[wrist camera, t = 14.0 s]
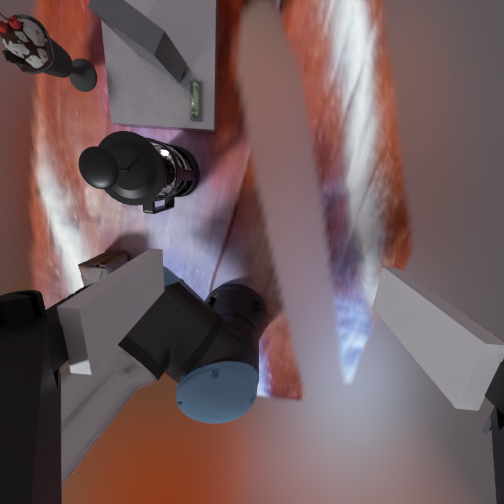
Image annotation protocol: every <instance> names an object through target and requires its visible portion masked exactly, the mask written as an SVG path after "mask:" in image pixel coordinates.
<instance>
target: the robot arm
mask: <svg viewBox="0 0 504 504" xmlns="http://www.w3.org/2000/svg"><path fill="white" fill-rule="evenodd" d="M373 309H374V310H375V312H376V313H377V314H378V315H379V316H380V318H381V319H382V320H383V321H384V322H385V324H386V325H387V326H388V327H389V328H390V329H391V331H392V332H393V333H394V334H395V336H396V337H397V338H398V339H399V340H400V342H402V344H403V345H404V346H405V348H406V349H407V350H408V351H409V352H410V354H411V355H412V356H413V357H414V358H415V359H416V361H417V362H418V363H419V364H420V366H421V367H422V368H423V369H424V370H425V372H426V373H427V374H428V375H429V376H430V377H431V379H432V380H433V381H434V382H435V384H436V385H437V386H438V387H439V388H440V390H441V391H442V392H443V393H444V394H445V396H446V397H447V398H448V399H449V400H450V402H451V403H452V404H453V405H454V406H455V408H457V409H468V410H479V408H480V406H481V404H482V402H483V400H484V398H485V397H486V398H487V399H488V400H489V401H490V402H491V403H492V404H493V405H494V406H495V407H494V409H493V411H492V413H491V415H490V418H489V419H488V421H487V423H486V425H485V427H484V429H483V432H484V433H486V434H487V433H488V431H489V430H492V442H493V456H494V471H495V486H496V499H497V500H496V501H497V504H504V341H503V340H501V339H500V338H498V337H497V336H496V335H494V334H492V333H491V332H490V331H488V330H487V329H485V328H484V327H482V326H480V325H479V324H478V323H476V322H475V321H474V320H472V319H471V318H469V317H467V316H466V315H464V314H463V313H461V312H460V311H458V310H457V309H456V308H454V307H453V306H451V305H450V304H448V303H447V302H445V301H444V300H442V299H441V298H439V297H438V296H436V295H435V294H434V293H432V292H431V291H429V290H428V289H426V288H425V287H423V286H422V285H420V284H419V283H418V282H416V281H415V280H413V279H412V278H410V277H409V276H407V275H406V274H404V273H403V272H401V271H400V270H399V269H397V268H390V267H383V270H382V273H381V277H380V281H379V285H378V289H377V293H376V297H375V301H374V304H373ZM266 324H267V309H266V305H265V303H264V301H263V299H262V298H261V297H260V295H259V294H257V293H256V292H255V291H254V290H252V289H250V288H248V287H246V286H242V285H236V284H230V285H224V286H221V287H219V288H217V289H215V290H214V291H212V292H211V293H210V294H209V295H208V297H207V298H206V300H205V301H204V300H203V299H202V298H201V297H200V296H199V295H198V294H196V293H195V292H194V291H193V290H192V289H191V288H190V287H189V286H188V285H187V284H186V283H185V282H184V280H183V279H181V278H179V277H177V276H176V275H175V274H174V273H173V272H171V271H170V270H169V269H168V268H166V267H164V266H163V254H162V250H161V249H148V250H147V251H145V252H143V253H142V254H140V255H139V256H137V257H135V258H134V259H132V260H131V261H129V262H128V263H126V264H124V265H123V266H121V267H120V268H118V269H116V270H115V271H113V272H112V273H110V274H108V275H107V276H105V277H104V278H102V279H100V280H99V281H97V282H95V283H93V284H90V285H87V286H84V287H83V288H81V289H79V290H78V291H76V292H75V294H74V293H73V294H71V295H70V296H68V297H67V298H65V299H63V300H61V301H60V302H58V303H56V304H55V305H53V306H52V307H50V308H48V309H47V310H45V306H44V301H43V297H42V294H41V292H39V291H36V290H24V291H16V292H12V293H7V294H4V295H1V296H0V504H61V503H62V502H61V501H62V498H61V495H62V494H61V487H62V486H63V485H64V483H65V482H66V481H67V479H68V478H69V477H70V476H71V474H72V473H73V472H74V471H75V469H76V468H77V467H78V465H79V464H80V463H81V462H82V460H83V459H84V458H85V456H86V455H87V454H88V452H89V451H90V450H91V449H92V447H93V446H94V445H95V443H96V442H97V441H98V440H99V438H100V437H101V435H102V434H103V433H104V432H105V431H106V429H107V428H108V427H109V425H110V424H111V423H112V421H113V420H114V419H115V418H116V416H117V415H118V413H119V412H120V411H121V410H122V409H123V407H124V406H125V405H126V403H127V402H128V401H129V400H130V398H131V397H132V396H133V394H134V393H135V392H136V391H137V390H138V389H140V388H142V387H145V386H149V385H153V384H156V383H157V381H158V380H159V379H160V377H161V376H162V375H163V373H164V372H165V373H166V374H167V375H168V376H170V377H171V378H172V379H173V380H175V381H176V382H177V383H178V385H177V389H176V399H177V400H178V401H177V404H178V406H179V408H180V410H181V411H182V412H183V413H184V414H186V415H187V416H188V417H190V418H192V419H194V420H197V421H200V422H204V423H225V422H229V421H232V420H235V419H237V418H239V417H241V416H242V415H244V414H245V413H246V412H247V411H248V410H249V409H250V408H251V407H252V405H253V404H254V401H255V399H256V395H257V385H258V382H259V339H260V338H261V336H262V334H263V332H264V330H265V328H266ZM67 360H68V361H69V365H68V366H67V367H66V368H65V369H64V370H63V371H62V372H61V373H60V370H59V368H60V367H61V366H62V365H63V364H64V363H65V362H66V361H67Z"/></svg>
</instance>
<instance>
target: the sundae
mask: <svg viewBox="0 0 504 504" xmlns="http://www.w3.org/2000/svg"><path fill="white" fill-rule="evenodd" d="M0 15H1V16H2V17H4V16H3V15H2V14H1V13H0ZM4 18H5V19H7V18H6V17H4ZM7 20H8V23H4V22H2V21H0V38H1V39H2V41H3V43H4V45H5V47H6V50H4V51H2V53H3V55H4V57H5V58H6V60H7V61H8V62H11V63H15V64H16V65H17V66H18V67H19V68H20V69H21V70H22V71H23V72H27V73H30V74H38V73H42V72H43V73H46V74H49V75H52V76H57V77H62V78H65V77H68V76H69V77H70V80H71V82H72V84H73V85H74V86H75V87H76V88H77V89H78V90H80V91H83V92H88V91H90V90H92V89H93V88H94V86H95V84H96V73H95V70H94V68H93V67H92V65H91V64H90V63H89V62H87V61H86V60H83V59H76V60H74V61H73V62H72V60H71V58H70V56H69V54H68V53H67V52H66V51H65V50H64V49H63V48H62V47H61V46H60V45H58V44H57V43H56V42H55V41H53V40H52V39H51V38H50V37H49V35H48V33H47V31H46V29H45V28H44V26H43V25H42V24H41V23H40V22H39V21H38V20H36V19H35V18H33V17H30V16H27V15H22V14H20V15H14V16H13V17H9V19H7Z"/></svg>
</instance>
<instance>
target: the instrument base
mask: <svg viewBox="0 0 504 504" xmlns="http://www.w3.org/2000/svg"><path fill="white" fill-rule="evenodd" d="M125 1H126V2H127V3H129V4H130V5H131V6H133V7H134V8H135V9H137V10H138V11H139V12H141V13H142V14H143V15H145V16H146V17H147V18H148V19H150V20H151V21H152V22H154V23H155V24H156V25H158V26H159V27H160V28H162V29H163V30H164V31H165V32H166V34H167V35H168V36H169V38H170V39H171V41H172V42H173V44H174V45H175V47H176V48H177V50H178V51H179V53H180V54H181V56H182V57H183V59H184V60H185V62H186V63H187V66H186V68H185V70H184V72H183V74H182V76H181V79H180V81H179V83H178V82H177V81H175V80H174V79H173V78H171V77H170V76H168V75H167V74H166V73H164V72H163V71H162V70H160V69H159V68H157V67H156V66H155V65H153V64H152V63H151V62H149V61H148V60H146V59H145V58H144V57H142V56H141V55H140V54H138V53H137V52H135V51H134V50H133V49H131V48H130V47H129V46H128V45H127V44H126V43H125V42H123V41H122V40H121V39H120V38H119V37H118V36H117V35H116V34H115V33H114V32H113V31H112V30H111V29H110V28H109V27H108V26H107V25H106V24H105V23H104V22H103V21H102V20H101V25H102V35H103V44H104V54H105V63H106V73H107V82H108V92H109V101H110V111H111V120H112V123H113V124H116V125H119V126H122V127H137V128H152V129H167V130H182V131H197V132H212V133H217V118H218V67H219V15H220V0H125Z"/></svg>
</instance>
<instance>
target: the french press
mask: <svg viewBox="0 0 504 504" xmlns="http://www.w3.org/2000/svg"><path fill="white" fill-rule="evenodd" d="M151 142H152V143H155V144H159V145H154V146H153V145H152V143H151ZM181 155H182V156H183V157H185V158H186V159H187V160H188V162H189V163H190V165H191V168H192V170H187V168H186V164H185V162H184V160H183V158H182V157H181ZM79 170H80V173H81V175H82V177H83V178H84V179H85V181H86V182H87V183H88V184H90V185H91V186H93V187H95V188H98V189H104V190H105V191H106V192H107V193H108V194H109V195H110V196H111V197H112V198H114V199H115V200H117V201H119V202H121V203H123V204H127V205H142V204H143V212H144V213H151V214H156V213H159V212H162V211H165V210H168V209H171V208H174V197H183V196H186V195H188V194H190V193H191V192H192V191H193V190H194V189H195V188H196V186H197V184H198V181H199V176H200V173H199V167H198V164H197V161H196V160H195V158H194V157H193V156H192V154H191V153H190V152H188V151H187V150H185V149H183V148H181V147H177V146H171V145H168V144H166V143H163V142H160V141H157V140H154V139H150V138H144V137H143V136H141V135H138V134H136V133H133V132H129V131H119V132H114V133H112V134H110V135H108V136H107V137H105V138H104V139H103V140H102V141H101V143H100V144H99V146H98V147H97V146H93V147H89V148H87V149H85V150H84V151H83V152H82V154H81V155H80V158H79ZM186 180H191V182H190V184H189V185H188V186H187V187H186V188H185V189H183V187H184V185H185V183H186ZM156 196H157V197H156ZM163 199H165V205H163V206H159V207H156V208H155V201H160V200H163Z"/></svg>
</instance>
